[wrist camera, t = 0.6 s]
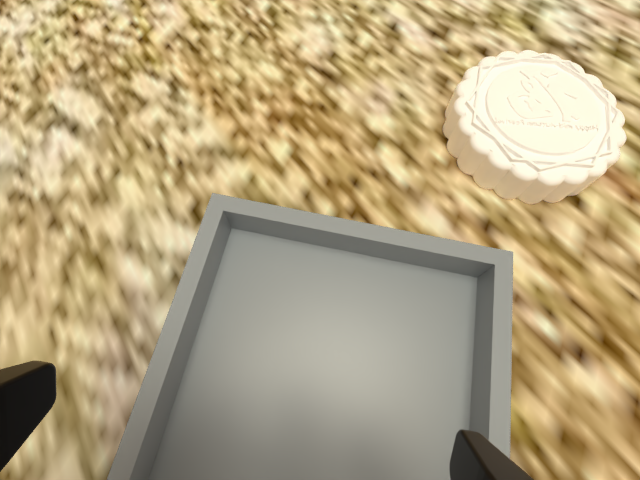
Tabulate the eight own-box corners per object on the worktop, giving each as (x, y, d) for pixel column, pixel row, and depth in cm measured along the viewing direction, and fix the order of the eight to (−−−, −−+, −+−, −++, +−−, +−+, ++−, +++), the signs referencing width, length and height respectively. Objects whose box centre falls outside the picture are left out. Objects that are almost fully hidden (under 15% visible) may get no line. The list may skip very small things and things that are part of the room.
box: (472, 621, 18) (506, 669, 15) (118, 528, 19) (79, 554, 16) (487, 270, 25) (513, 252, 22) (224, 218, 26) (212, 193, 23)
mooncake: (582, 84, 32) (613, 48, 28) (612, 212, 27) (654, 187, 24) (438, 74, 32) (452, 37, 29) (444, 199, 27) (462, 172, 24)
